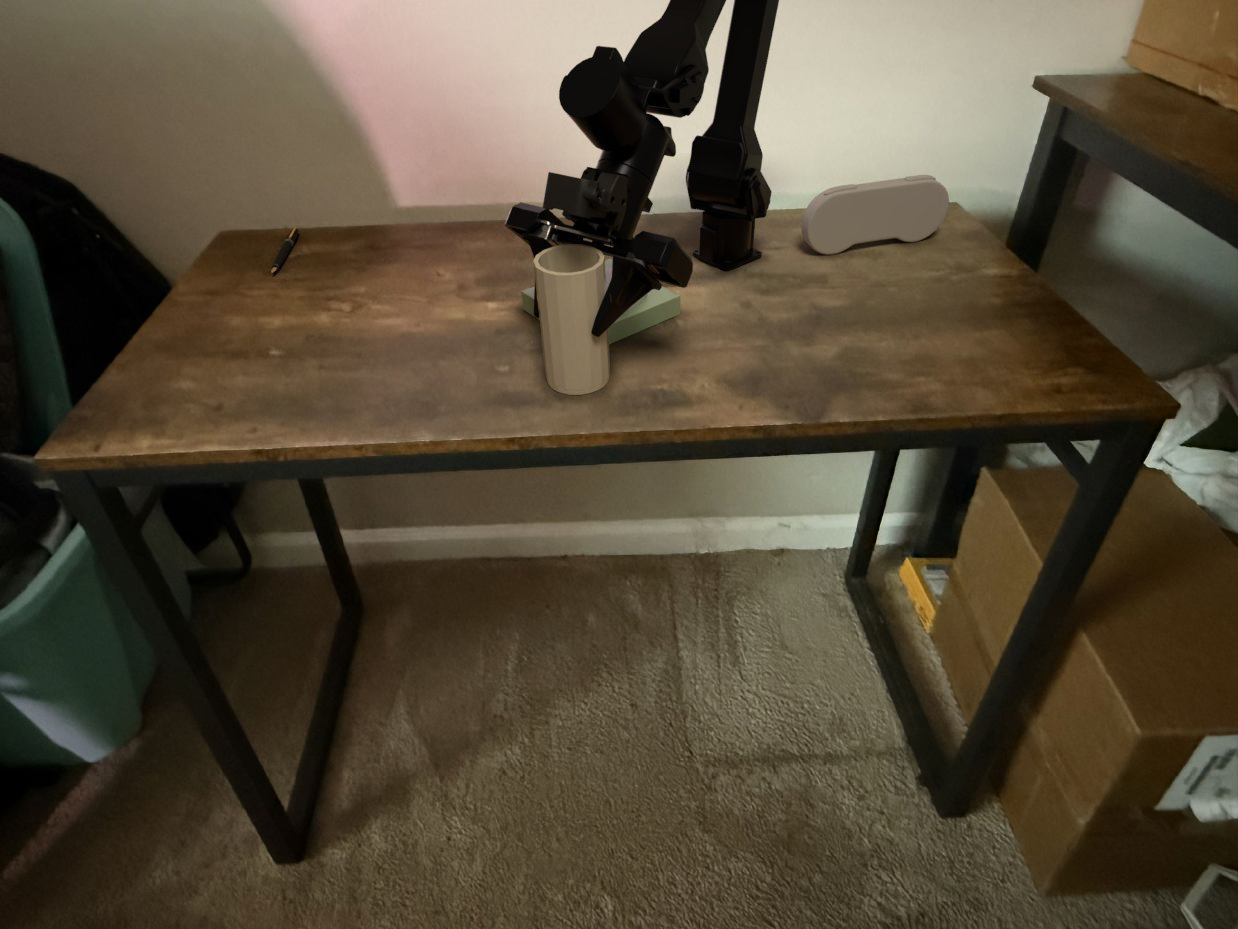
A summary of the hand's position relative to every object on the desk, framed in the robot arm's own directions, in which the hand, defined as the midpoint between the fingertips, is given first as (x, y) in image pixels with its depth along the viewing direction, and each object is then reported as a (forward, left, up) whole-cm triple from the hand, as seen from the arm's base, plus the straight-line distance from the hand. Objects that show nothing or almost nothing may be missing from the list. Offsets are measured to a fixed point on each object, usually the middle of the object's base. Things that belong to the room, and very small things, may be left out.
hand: (565, 326), depth 78 cm
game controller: (-48, -1, -7) cm, 49 cm away
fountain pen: (+11, -51, -7) cm, 52 cm away
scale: (-11, -10, -7) cm, 16 cm away
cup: (-1, 0, -7) cm, 7 cm away
